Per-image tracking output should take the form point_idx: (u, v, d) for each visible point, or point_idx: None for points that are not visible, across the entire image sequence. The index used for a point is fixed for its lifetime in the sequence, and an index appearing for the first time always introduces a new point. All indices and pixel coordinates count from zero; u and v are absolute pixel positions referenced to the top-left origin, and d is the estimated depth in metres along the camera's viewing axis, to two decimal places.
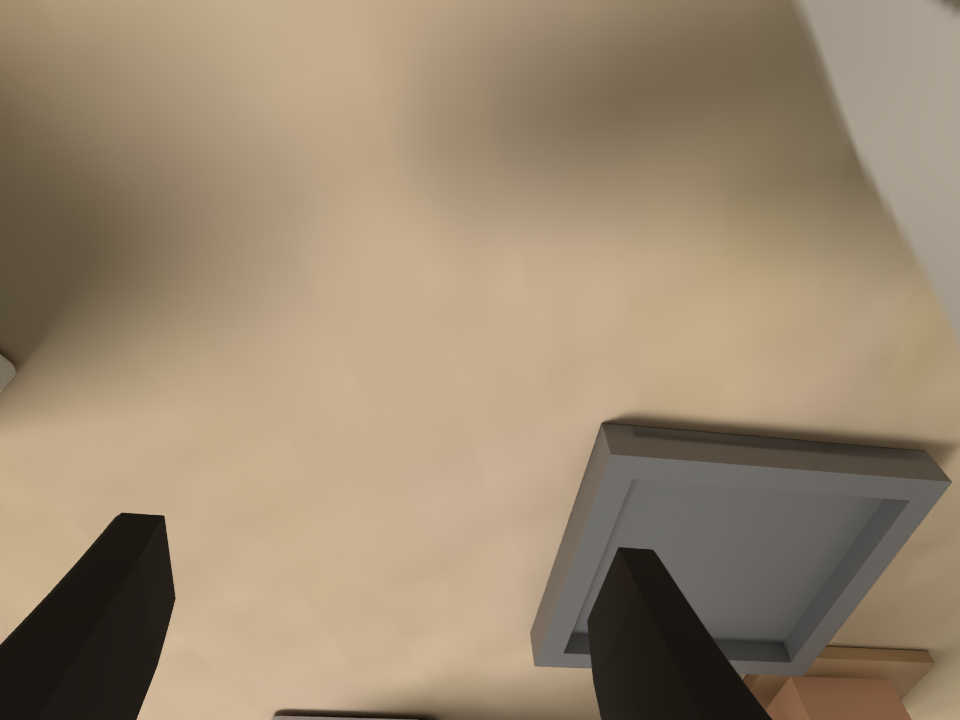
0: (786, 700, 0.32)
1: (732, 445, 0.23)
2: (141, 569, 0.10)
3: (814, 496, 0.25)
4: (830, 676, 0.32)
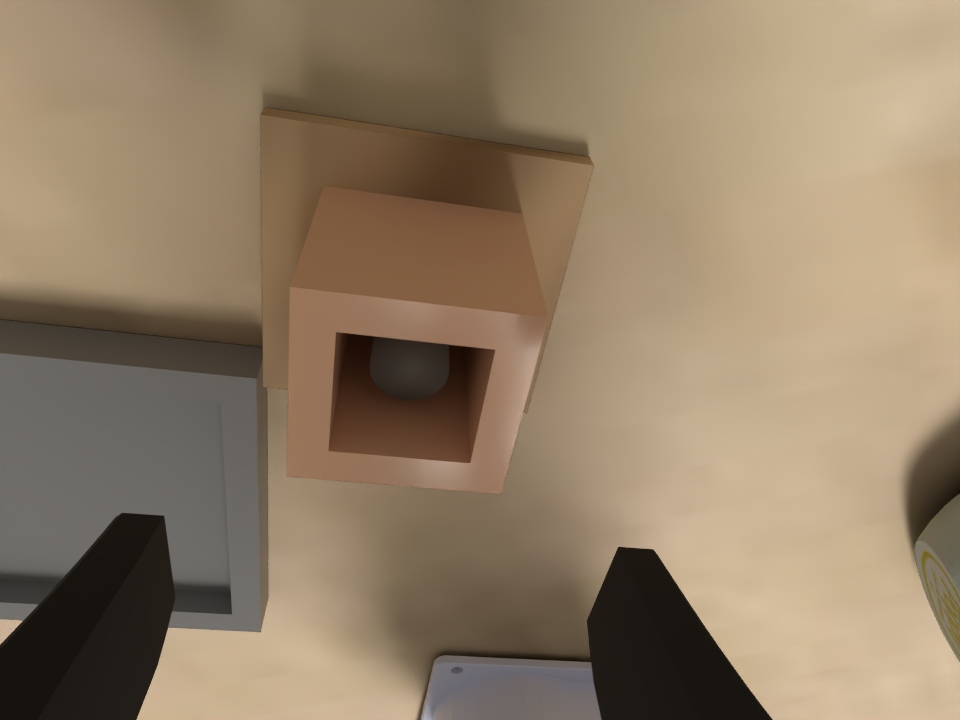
0: None
1: None
2: (141, 569, 0.10)
3: None
4: None
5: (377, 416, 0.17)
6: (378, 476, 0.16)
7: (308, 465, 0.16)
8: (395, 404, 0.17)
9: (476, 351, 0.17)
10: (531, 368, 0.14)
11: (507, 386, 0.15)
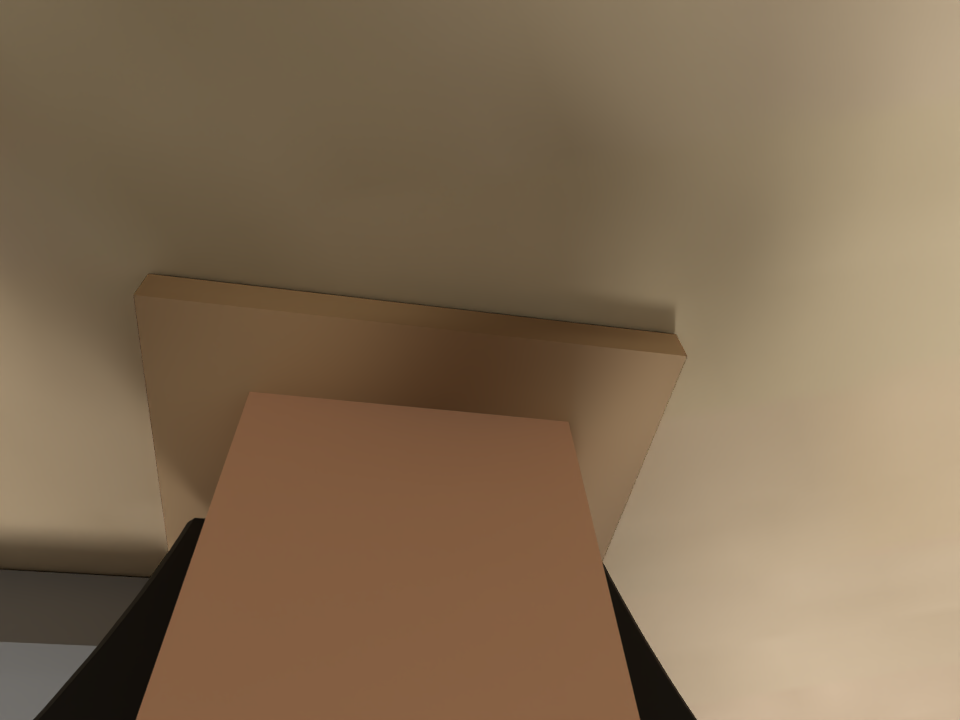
0: None
1: None
2: None
3: None
4: None
5: None
6: None
7: None
8: None
9: None
10: None
11: None
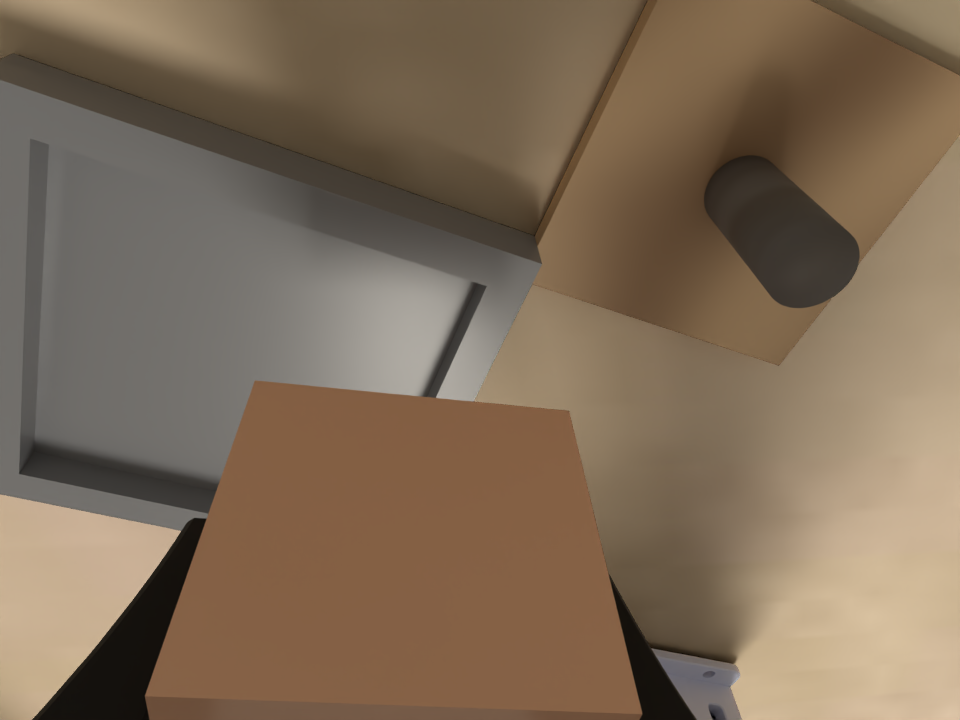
0: None
1: None
2: None
3: (92, 245, 0.17)
4: (636, 176, 0.16)
5: None
6: None
7: None
8: None
9: None
10: None
11: None
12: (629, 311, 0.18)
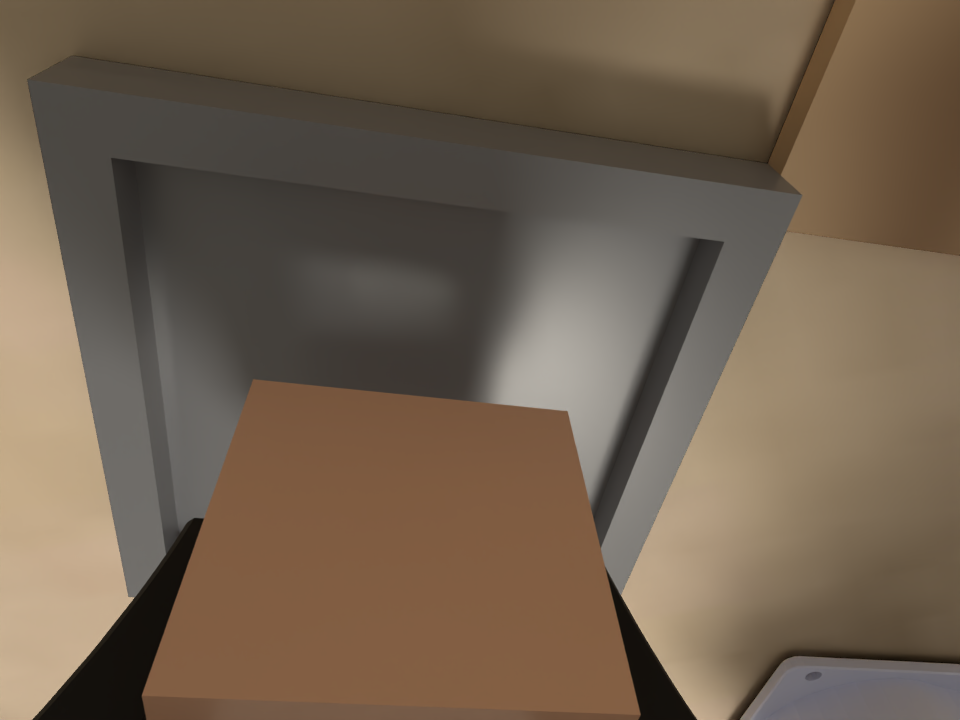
0: None
1: None
2: None
3: (206, 287, 0.13)
4: (925, 41, 0.11)
5: None
6: None
7: None
8: None
9: None
10: None
11: None
12: (912, 242, 0.13)
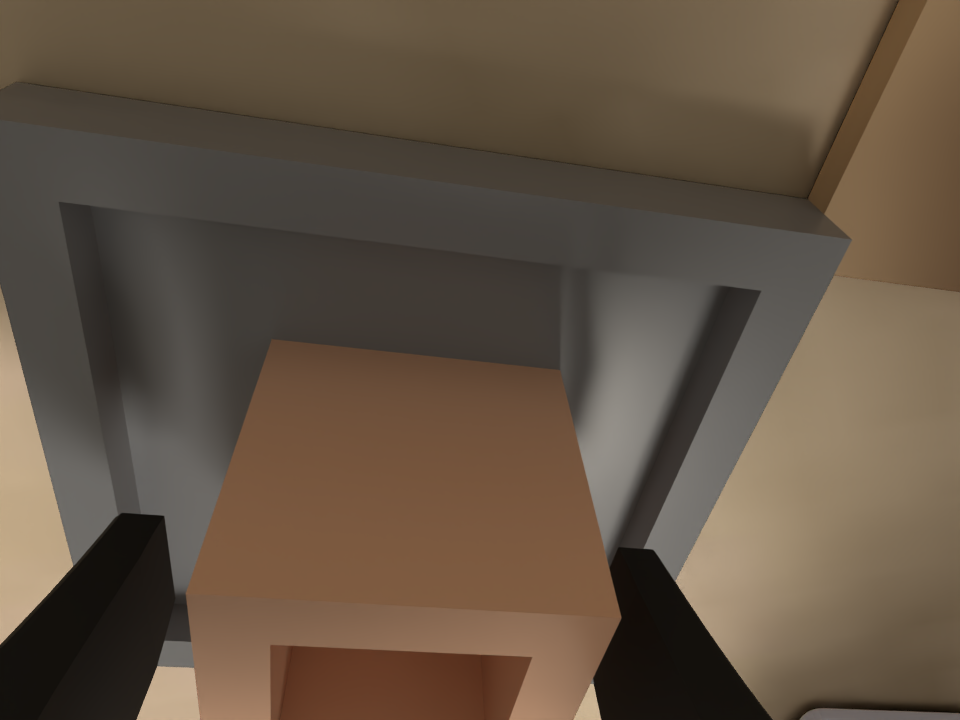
0: None
1: None
2: (141, 569, 0.10)
3: (177, 337, 0.12)
4: None
5: (349, 685, 0.11)
6: None
7: None
8: (376, 656, 0.12)
9: None
10: (588, 675, 0.09)
11: (549, 696, 0.09)
12: None
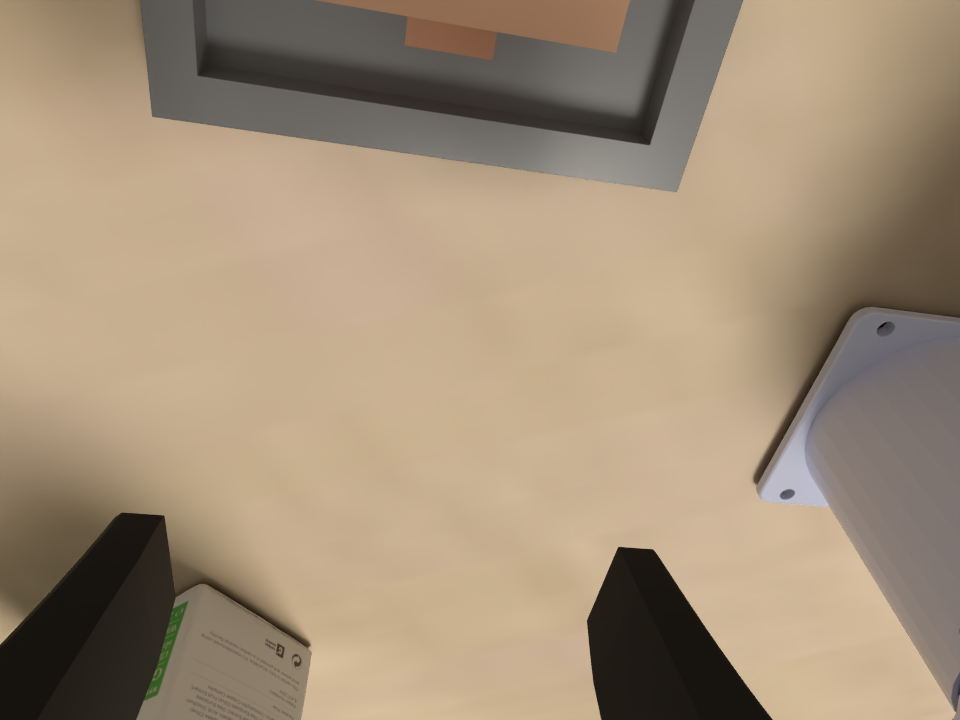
0: None
1: None
2: (141, 569, 0.10)
3: None
4: None
5: None
6: (432, 3, 0.10)
7: None
8: None
9: None
10: None
11: None
12: None
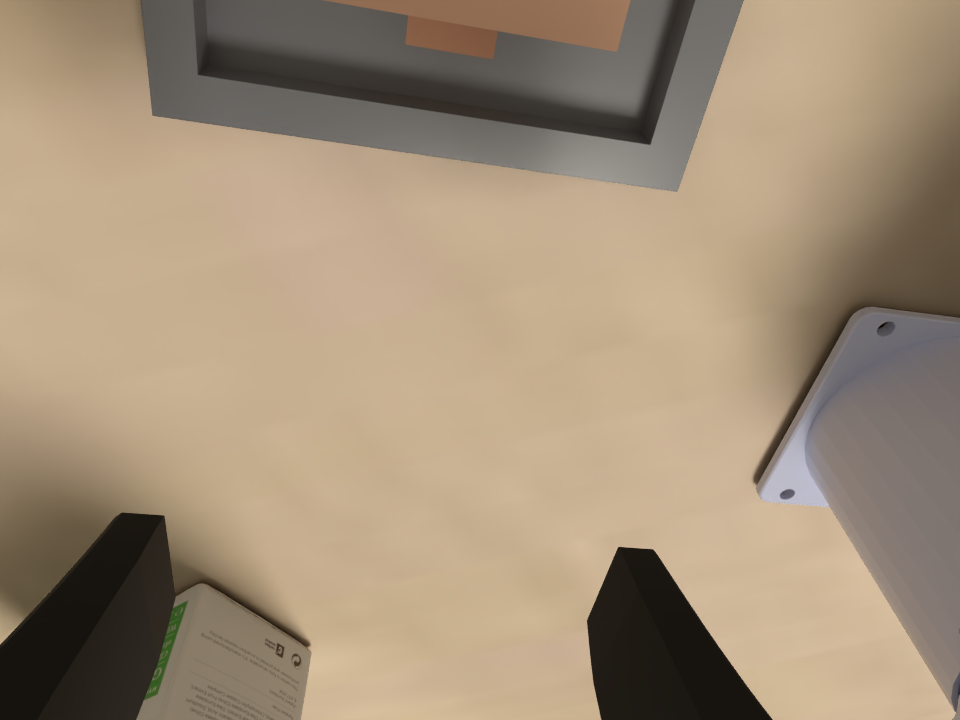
0: None
1: None
2: (141, 569, 0.10)
3: None
4: None
5: None
6: (432, 2, 0.10)
7: None
8: None
9: None
10: None
11: None
12: None
